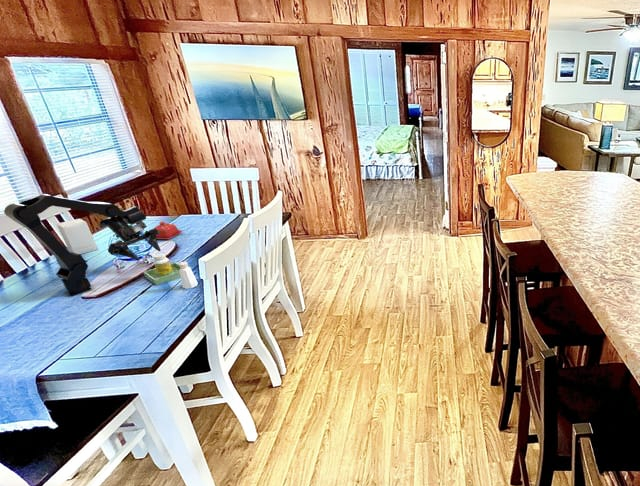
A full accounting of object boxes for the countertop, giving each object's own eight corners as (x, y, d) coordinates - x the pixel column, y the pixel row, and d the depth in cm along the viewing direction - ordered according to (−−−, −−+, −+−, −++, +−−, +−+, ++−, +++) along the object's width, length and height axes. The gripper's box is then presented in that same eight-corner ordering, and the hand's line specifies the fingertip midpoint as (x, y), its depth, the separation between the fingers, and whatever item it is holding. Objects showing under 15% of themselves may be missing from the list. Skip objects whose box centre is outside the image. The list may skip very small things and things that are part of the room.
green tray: (156, 285, 164) (154, 280, 163) (145, 277, 171) (143, 271, 169) (188, 274, 174) (187, 269, 173) (176, 266, 180) (175, 261, 179)
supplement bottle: (174, 270, 175) (167, 251, 171) (173, 275, 171) (166, 256, 167) (159, 273, 172) (151, 254, 168) (158, 278, 168) (150, 259, 164)
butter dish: (169, 240, 205) (164, 226, 202) (148, 240, 206) (142, 225, 202) (184, 232, 216) (180, 218, 212) (164, 232, 216) (159, 217, 212)
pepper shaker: (196, 281, 168) (189, 258, 164) (199, 286, 165) (191, 263, 160) (181, 285, 165) (173, 262, 160) (184, 290, 161) (175, 267, 157)
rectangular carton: (99, 249, 194) (86, 221, 188) (75, 256, 188) (61, 227, 181) (92, 245, 199) (80, 218, 192) (68, 251, 192) (55, 223, 186)
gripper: (101, 225, 155) (132, 254, 157) (148, 211, 172) (176, 236, 174) (95, 241, 160) (125, 268, 163) (141, 225, 177) (168, 250, 179)
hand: (149, 255), depth 169 cm, fingers open, 9 cm apart
